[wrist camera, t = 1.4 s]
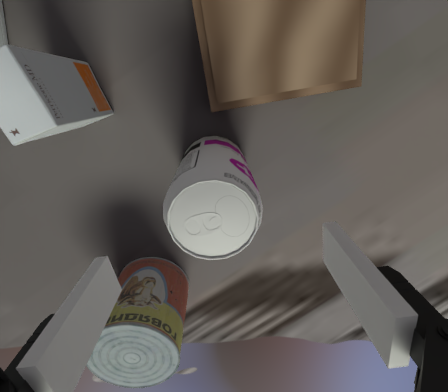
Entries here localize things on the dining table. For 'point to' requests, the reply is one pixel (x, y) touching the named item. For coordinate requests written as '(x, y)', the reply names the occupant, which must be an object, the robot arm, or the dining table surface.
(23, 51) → the skincare box
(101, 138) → the dining table surface
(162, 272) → the canned food
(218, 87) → the tray
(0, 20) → the supplement box
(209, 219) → the supplement can
